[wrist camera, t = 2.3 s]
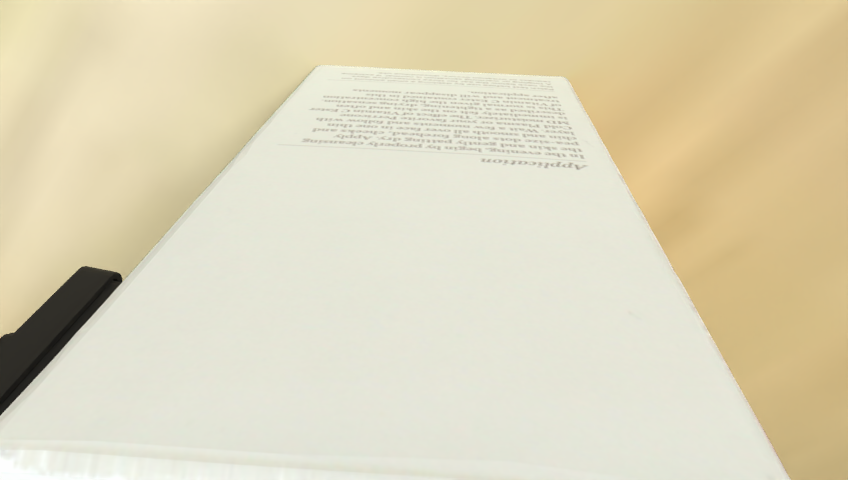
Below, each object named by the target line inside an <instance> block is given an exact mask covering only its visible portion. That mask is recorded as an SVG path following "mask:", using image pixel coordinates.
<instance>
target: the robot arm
mask: <svg viewBox="0 0 848 480" xmlns="http://www.w3.org/2000/svg"><path fill="white" fill-rule="evenodd" d="M121 283H122V277H121V275H120V274H119V273H117V272H112V271H107V270H102V269H97V268H92V267H87V266H85V267H81V268H80V269H79V270H78V271H77V272H76V273H75V274H74V275H73V276H72V277H70V278H69V279H68V280H67V281H66V282H65V283H64V284H63V285H62V286H61V287H60V288H59V289H58V290H57V291H56V292H55V293H54V294H53V295H52V296H51V297H50V298H49V299H48V300H47V301H46V302H45V303H44V304H43V305H42V306H41V307H40V308H39V309H38V310H37V311H36V312H35V313H34V314H33V315H32V316H31V317H30V318H29V319H28V320H27V321H26V322H25V323H24V324H23V325H22V326H21V327H20V328H19V329H18V330H17V331H16V332H15V333H10V334H6V335H4V336H3V337H1V338H0V416H1V415H2V413H3V412H4V411H5V410H6V409H7V408H8V407H9V406H10V405H11V404H12V403H13V402H14V401H15V400H16V398H17V397H18V396H19V395H20V394H21V393H22V392H23V391H24V390H25V389H26V388H27V387H28V386H29V385H30V383H31V382H32V381H33V380H34V379H35V378H36V377H37V376H38V375H39V374H40V373H41V372H42V371H43V370H44V368H45V367H46V366H47V365H48V364H49V363H50V362H51V361H52V360H53V359H54V358H55V356H56V355H57V354H58V353H59V352H60V351H61V350H62V349H63V347H64V346H65V345H66V344H67V343H68V342H69V341H70V340H71V338H72V337H73V336H74V335H75V334H76V333H77V332H78V331H79V330H80V328H81V327H82V326H83V325H84V324H85V323H86V322H87V321H88V320H89V319H90V318H91V317H92V315H93V314H94V313H95V312H96V311H97V310H98V309H99V308H100V307H101V305H102V304H103V303H104V302H105V301H106V300H107V299H108V298H109V297H110V295H111V294H112V293H113V292H114V291H115V290H116V289H117V288H118V286H119V285H120V284H121Z"/></svg>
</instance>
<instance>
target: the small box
mask: <svg viewBox="0 0 848 480" xmlns="http://www.w3.org/2000/svg"><path fill="white" fill-rule="evenodd" d="M0 480H790V478H789V476H788V474H787V472H786V470H785V468H784V467H783V465H782V463H781V461H780V459H779V457H778V455H777V453H776V451H775V449H774V448H773V446H772V444H771V442H770V440H769V438H768V436H767V435H766V433H765V431H764V429H763V428H762V426H761V424H760V422H759V421H758V419H757V417H756V415H755V414H754V412H753V410H752V408H751V407H750V405H749V403H748V401H747V400H746V398H745V396H744V394H743V393H742V391H741V389H740V387H739V386H738V384H737V382H736V380H735V379H734V377H733V375H732V373H731V371H730V369H729V367H728V366H727V364H726V362H725V360H724V358H723V357H722V355H721V353H720V351H719V349H718V348H717V346H716V344H715V342H714V340H713V339H712V337H711V335H710V333H709V332H708V330H707V328H706V326H705V325H704V323H703V321H702V319H701V317H700V316H699V314H698V312H697V310H696V308H695V306H694V304H693V303H692V301H691V299H690V297H689V295H688V294H687V292H686V290H685V288H684V286H683V284H682V283H681V281H680V279H679V278H678V276H677V275H676V273H675V271H674V269H673V268H672V266H671V264H670V262H669V260H668V258H667V256H666V254H665V253H664V251H663V249H662V247H661V246H660V244H659V242H658V240H657V239H656V237H655V235H654V233H653V232H652V230H651V228H650V226H649V224H648V222H647V220H646V218H645V216H644V215H643V213H642V211H641V210H640V208H639V206H638V205H637V203H636V201H635V199H634V198H633V196H632V194H631V192H630V190H629V188H628V186H627V184H626V183H625V181H624V179H623V177H622V175H621V174H620V172H619V170H618V168H617V166H616V165H615V163H614V162H613V160H612V158H611V156H610V154H609V152H608V150H607V148H606V147H605V145H604V143H603V142H602V140H601V138H600V136H599V134H598V133H597V130H596V128H595V127H594V125H593V124H592V122H591V120H590V118H589V116H588V114H587V113H586V111H585V109H584V108H583V106H582V104H581V102H580V100H579V98H578V96H577V95H576V93H575V91H574V89H573V87H572V85H571V84H570V82H569V80H568V79H566V78H565V77H559V76H536V75H515V74H494V73H473V72H453V71H432V70H411V69H392V68H374V67H353V66H335V65H319V66H316V67H315V68H314V69H313V70H312V71H311V72H310V74H309V75H308V76H307V77H306V78H305V79H304V80H303V82H302V83H301V84H300V85H299V86H298V87H297V88H296V89H295V90H294V91H293V93H292V94H291V95H290V96H289V97H288V98H287V99H286V100H285V101H284V103H283V104H282V105H281V106H280V107H279V108H278V109H277V110H276V111H275V112H274V114H273V115H272V116H271V117H270V118H269V119H268V120H267V121H266V122H265V124H264V125H263V126H262V127H261V128H260V129H259V130H258V131H257V132H256V134H255V135H254V136H253V137H252V138H251V139H250V140H249V141H248V143H247V144H246V145H245V146H244V147H243V148H242V149H241V150H240V152H239V153H238V154H237V155H236V156H235V157H234V158H233V159H232V160H231V162H230V163H229V164H228V165H227V166H226V167H225V168H224V169H223V170H222V172H221V173H220V174H219V175H218V176H217V177H216V178H215V179H214V180H213V181H212V183H211V184H210V185H209V186H208V187H207V188H206V189H205V190H204V191H203V192H202V194H201V195H200V196H199V197H198V198H197V199H196V200H195V201H194V202H193V203H192V205H191V206H190V207H189V208H188V209H187V210H186V211H185V213H184V214H183V215H182V216H181V217H180V218H179V219H178V220H177V222H176V223H175V224H174V225H173V226H172V227H171V228H170V229H169V231H168V232H167V233H166V234H165V235H164V236H163V237H162V239H161V240H160V241H159V242H158V243H157V244H156V245H155V246H154V248H153V249H152V250H151V251H150V252H149V253H148V254H147V255H146V256H145V257H144V259H143V260H142V261H141V262H140V263H139V264H138V265H137V266H136V267H135V269H134V270H133V271H132V272H131V273H130V274H129V275H128V276H127V277H126V279H125V280H124V281H123V282H122V283H121V284H120V285H119V286H118V288H117V289H116V290H115V291H114V292H113V293H112V294H111V295H110V297H109V298H108V299H107V300H106V301H105V302H104V303H103V304H102V305H101V307H100V308H99V309H98V310H97V311H96V312H95V313H94V314H93V315H92V317H91V318H90V319H89V320H88V321H87V322H86V323H85V324H84V325H83V326H82V327H81V328H80V330H79V331H78V332H77V333H76V334H75V335H74V336H73V337H72V338H71V340H70V341H69V342H68V343H67V344H66V345H65V346H64V347H63V349H62V350H61V351H60V352H59V353H58V354H57V355H56V356H55V358H54V359H53V360H52V361H51V362H50V363H49V364H48V365H47V366H46V367H45V368H44V370H43V371H42V372H41V373H40V374H39V375H38V376H37V377H36V378H35V379H34V380H33V381H32V382H31V383H30V385H29V386H28V387H27V388H26V389H25V390H24V391H23V392H22V393H21V394H20V395H19V396H18V397H17V398H16V400H15V401H14V402H13V403H12V404H11V405H10V406H9V407H8V408H7V409H6V410H5V411H4V412H3V413H2V415H1V416H0Z"/></svg>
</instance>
